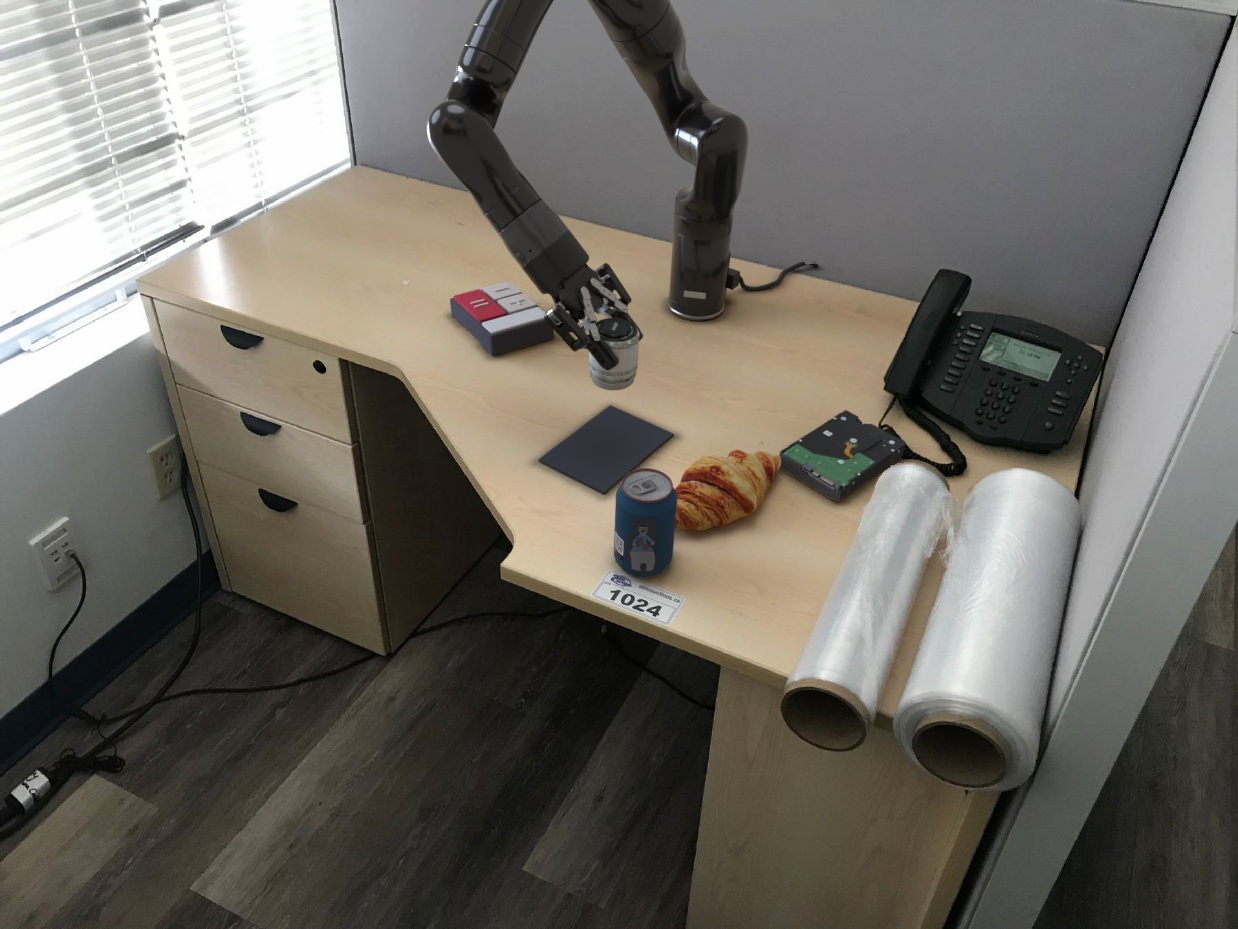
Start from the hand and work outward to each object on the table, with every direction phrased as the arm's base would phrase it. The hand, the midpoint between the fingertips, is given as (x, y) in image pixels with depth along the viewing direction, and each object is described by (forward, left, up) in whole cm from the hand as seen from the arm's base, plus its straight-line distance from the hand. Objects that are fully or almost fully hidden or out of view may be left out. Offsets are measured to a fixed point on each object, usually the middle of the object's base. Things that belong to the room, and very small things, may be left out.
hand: (625, 353), depth 125 cm
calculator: (-14, -34, -15) cm, 40 cm away
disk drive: (-16, +25, -15) cm, 33 cm away
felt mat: (+1, -2, -15) cm, 15 cm away
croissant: (+1, +17, -15) cm, 23 cm away
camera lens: (0, -2, -5) cm, 5 cm away
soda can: (+16, +15, -15) cm, 27 cm away
